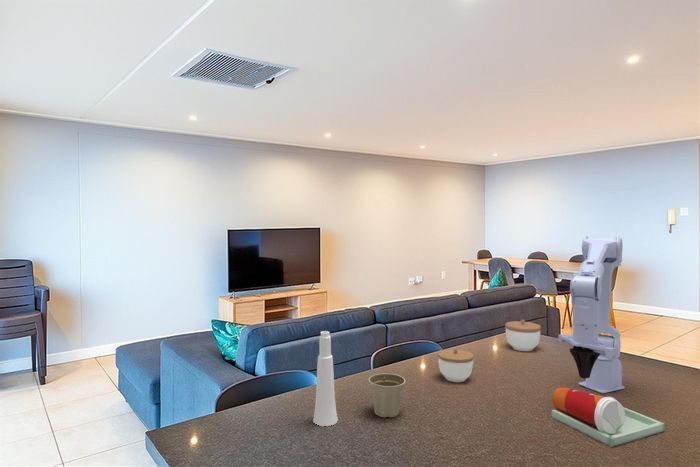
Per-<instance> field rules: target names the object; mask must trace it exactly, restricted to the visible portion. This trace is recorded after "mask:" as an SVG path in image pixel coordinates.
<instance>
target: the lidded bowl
mask: <svg viewBox="0 0 700 467" xmlns="http://www.w3.org/2000/svg"><path fill="white" fill-rule="evenodd" d="M504 325H505V326H504V327H505V336H506V340H507V342H508V344H509V346H511V347H512V349H513V350H515V351H519V352H531V351H533V350H534V349H535V348H536V347H537V346H538V344H539V342H540V339H541V330H542V326H541V325H540V324H537V323H535V322H530V321H525V319H520V320H519V321H518V320H516V321H514V320H513V321H507V322H505V324H504Z"/></svg>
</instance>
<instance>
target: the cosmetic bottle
mask: <svg viewBox="0 0 700 467" xmlns="http://www.w3.org/2000/svg"><path fill="white" fill-rule="evenodd" d="M331 338H332V337H331V335H330V331H328V330H322V331H320V335H319V337H318V339H319V342H318V344H319V348H318V349H319V355H317V361H316V362H317V365H316V366H317V367H316V388H315V389H316V390H315V391H316V393H315V406H314V412H313V419H312V421H313V424H314V423H315V424H314V425H316V424H317V425H316V426H318V425H319V427H324V426H326V427H332V426H334V425H336V424H337V423H338V422H339V418H338V413H337V406H336V394H335V376H334V375H335V374H334V373H335V372H334V360H333V357H334V356H333V355H332V347H331V346H332V342H331V341H332V340H331ZM337 421H338V422H337ZM331 425H332V426H331Z"/></svg>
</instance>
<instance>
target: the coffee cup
mask: <svg viewBox="0 0 700 467" xmlns="http://www.w3.org/2000/svg"><path fill="white" fill-rule="evenodd" d="M551 402H552V403H551V404H552V406H553V407H554V409H555V410H556V411H559V412H561V413H564V414H566V415H569V416H571V417H573V418H575V419H577V420H579V421H581V422H583V423H586V424H588V425H590V426H592V427H594V428H596V429H598V430H599V431H601V432H603V433H605V434H615V433H616V432H617V431H619V430H620V429H621V426H623V425H624V421H625V411H624V408H625V407H624V406H623V405H622V403H620V402H619V401H618V400H617V399H616V398H615V397H612V396H602V395H598V394H594V393H590V392H587V391H583V390H577V389H574V388H570V387H564V386H560V387H556V388H555V390H554V391H553V394H552V398H551ZM623 407H624V408H623Z"/></svg>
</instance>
